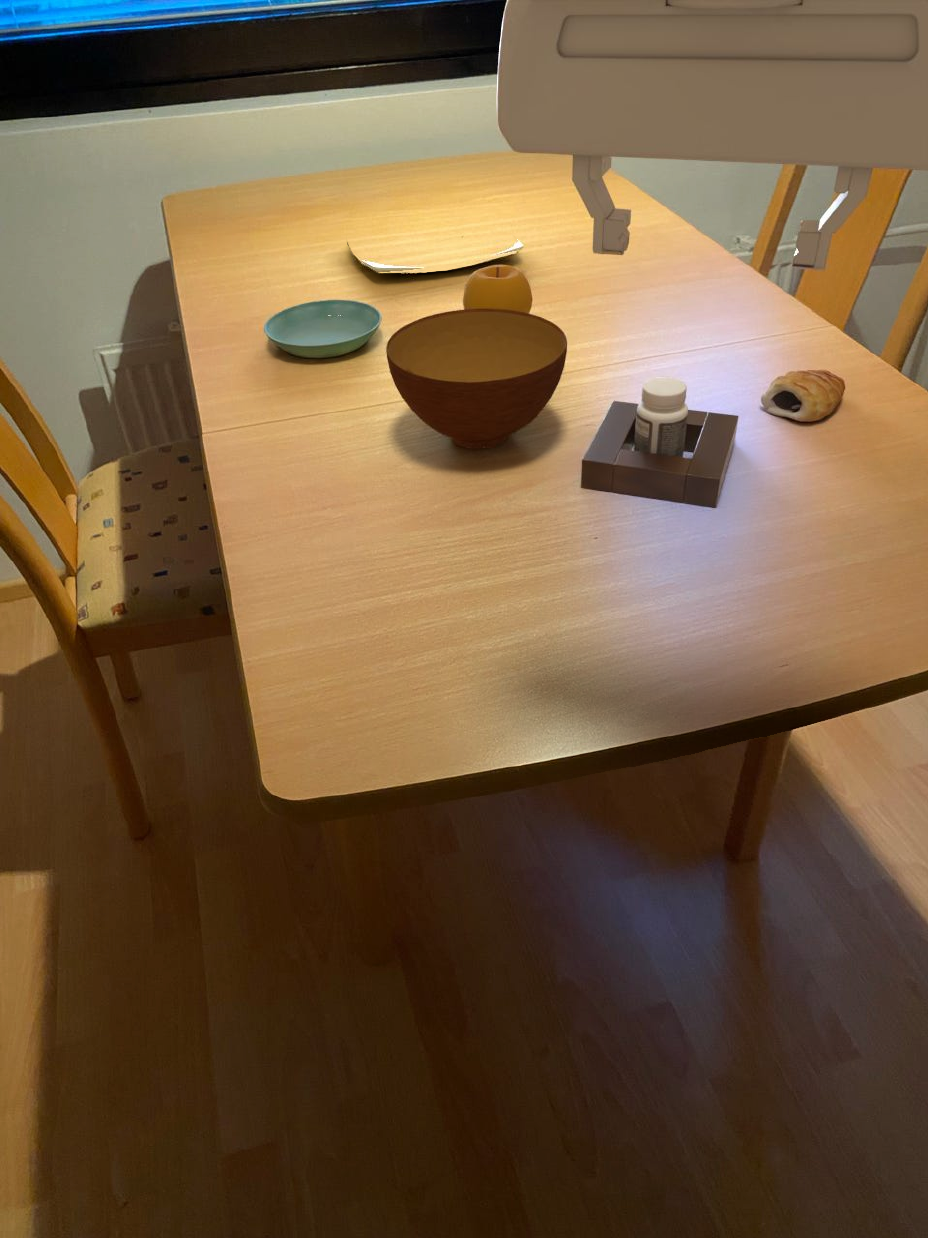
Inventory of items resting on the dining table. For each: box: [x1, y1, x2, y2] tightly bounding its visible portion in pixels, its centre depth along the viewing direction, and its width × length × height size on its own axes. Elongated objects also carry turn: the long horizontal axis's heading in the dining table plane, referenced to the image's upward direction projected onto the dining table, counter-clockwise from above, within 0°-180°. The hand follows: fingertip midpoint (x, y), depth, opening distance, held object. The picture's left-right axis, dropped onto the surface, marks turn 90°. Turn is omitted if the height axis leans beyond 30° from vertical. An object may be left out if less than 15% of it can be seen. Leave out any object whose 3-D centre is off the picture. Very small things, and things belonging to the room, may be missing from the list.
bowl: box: [385, 309, 568, 450], centre depth 94 cm, size 18×18×10 cm
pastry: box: [760, 369, 846, 423], centre depth 98 cm, size 9×7×4 cm
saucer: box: [263, 299, 383, 359], centre depth 117 cm, size 15×15×3 cm
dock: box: [580, 400, 740, 508], centre depth 90 cm, size 13×13×3 cm
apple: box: [462, 264, 533, 314], centre depth 113 cm, size 9×8×9 cm
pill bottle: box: [633, 376, 689, 457], centre depth 88 cm, size 5×5×8 cm
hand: (706, 258), depth 45 cm, fingers open, 8 cm apart
